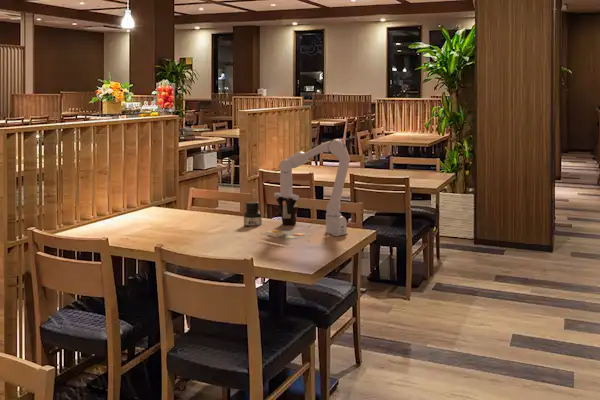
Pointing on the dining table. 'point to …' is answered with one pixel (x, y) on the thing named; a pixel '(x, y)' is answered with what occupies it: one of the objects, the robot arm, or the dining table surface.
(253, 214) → the ink bottle
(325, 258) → the dining table surface
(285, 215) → the marker
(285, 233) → the board
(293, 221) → the coffee mug
